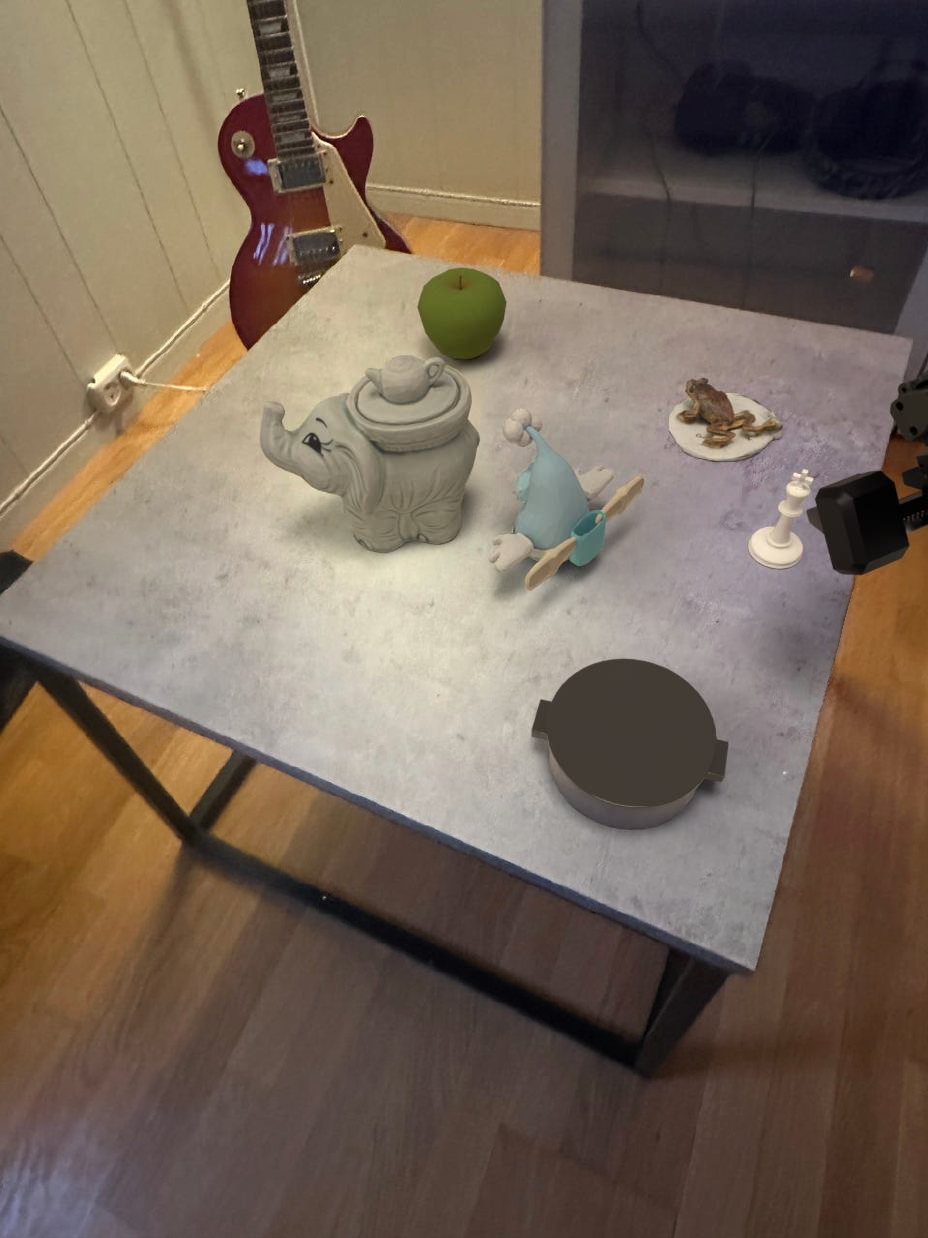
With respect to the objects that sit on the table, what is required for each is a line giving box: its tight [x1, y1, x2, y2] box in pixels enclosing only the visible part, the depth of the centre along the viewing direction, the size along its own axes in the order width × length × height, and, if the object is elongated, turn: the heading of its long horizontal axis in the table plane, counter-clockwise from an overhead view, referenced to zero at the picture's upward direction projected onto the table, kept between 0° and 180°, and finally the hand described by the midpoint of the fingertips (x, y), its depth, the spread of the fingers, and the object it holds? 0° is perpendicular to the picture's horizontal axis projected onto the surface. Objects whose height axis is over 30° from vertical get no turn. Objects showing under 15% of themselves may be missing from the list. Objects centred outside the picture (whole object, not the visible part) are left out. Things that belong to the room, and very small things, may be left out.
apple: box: [416, 267, 507, 360], centre depth 92 cm, size 11×10×10 cm
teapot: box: [259, 354, 481, 553], centre depth 71 cm, size 16×15×19 cm
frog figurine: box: [667, 377, 784, 462], centre depth 82 cm, size 12×12×4 cm
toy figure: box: [488, 408, 645, 591], centre depth 69 cm, size 17×10×15 cm, turn 136°
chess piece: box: [747, 469, 815, 570], centre depth 69 cm, size 5×5×10 cm
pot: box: [530, 658, 729, 830], centre depth 59 cm, size 15×13×5 cm
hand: (857, 496), depth 60 cm, fingers open, 9 cm apart
